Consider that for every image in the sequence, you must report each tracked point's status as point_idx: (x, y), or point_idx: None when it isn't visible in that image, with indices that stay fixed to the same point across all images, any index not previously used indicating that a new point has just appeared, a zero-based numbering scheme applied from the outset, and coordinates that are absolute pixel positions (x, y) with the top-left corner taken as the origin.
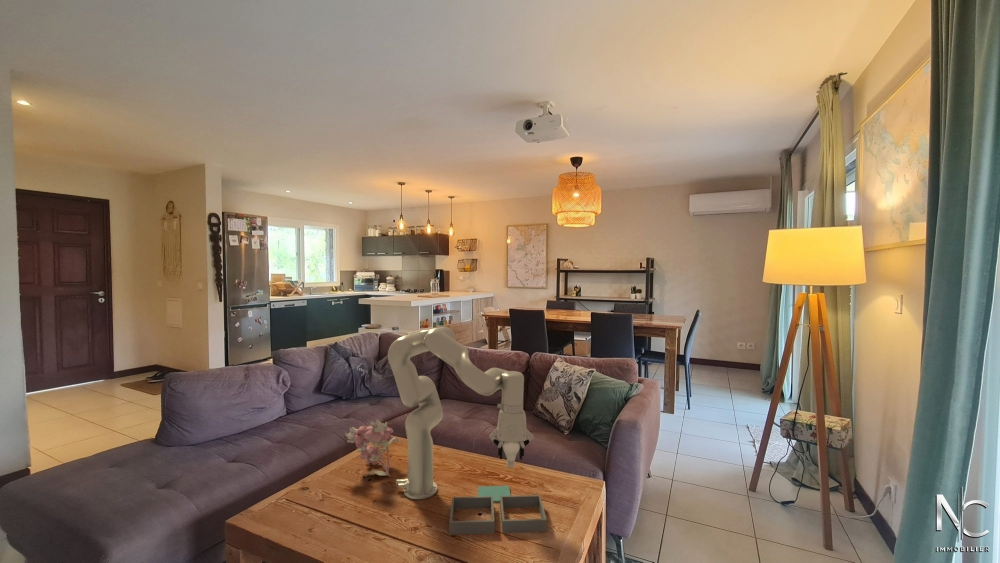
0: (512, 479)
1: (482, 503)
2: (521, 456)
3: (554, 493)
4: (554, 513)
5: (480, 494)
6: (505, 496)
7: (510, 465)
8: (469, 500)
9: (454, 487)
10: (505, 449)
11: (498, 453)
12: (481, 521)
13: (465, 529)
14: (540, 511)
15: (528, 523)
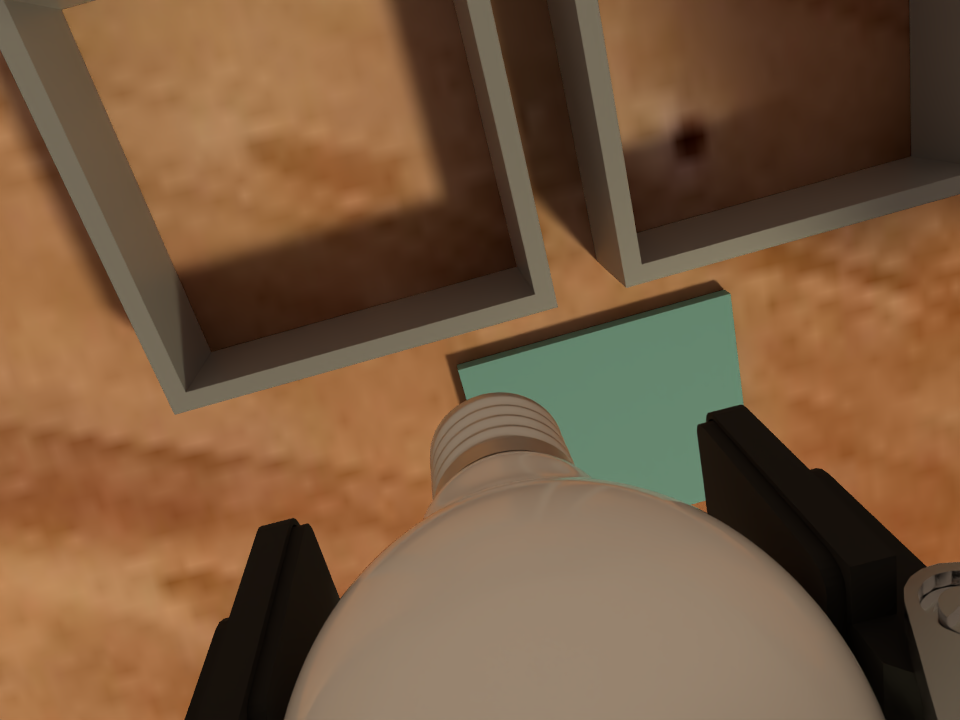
0: None
1: (697, 230)
2: (258, 562)
3: (127, 562)
4: (45, 296)
5: (723, 389)
6: (504, 310)
7: (495, 411)
8: (827, 203)
9: (927, 442)
10: (733, 537)
11: (841, 491)
12: None
13: None
14: (150, 247)
15: None
